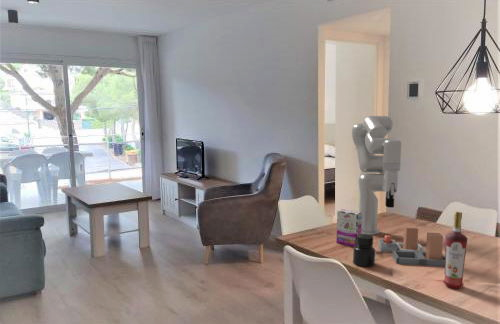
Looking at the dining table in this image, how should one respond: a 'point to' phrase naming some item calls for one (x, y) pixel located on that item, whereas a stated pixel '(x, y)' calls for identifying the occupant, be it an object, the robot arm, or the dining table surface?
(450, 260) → the liquor
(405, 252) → the grey two-slot rack
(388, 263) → the dining table surface
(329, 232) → the dining table surface
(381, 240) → the grey square holder
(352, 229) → the candy bar box
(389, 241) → the red egg shape
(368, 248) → the ink bottle
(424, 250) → the light grey square frame
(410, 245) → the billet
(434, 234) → the block
